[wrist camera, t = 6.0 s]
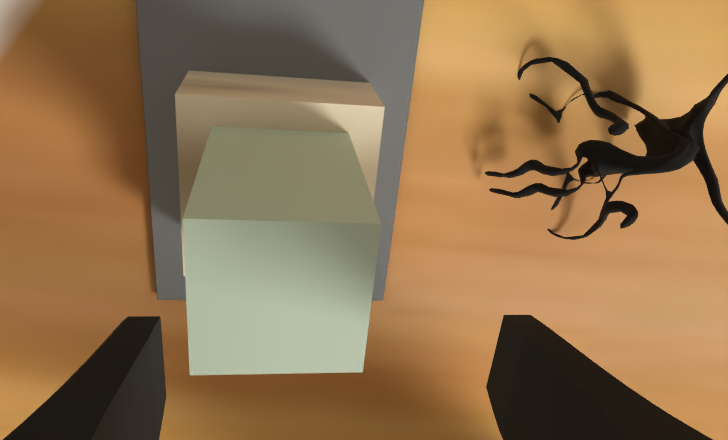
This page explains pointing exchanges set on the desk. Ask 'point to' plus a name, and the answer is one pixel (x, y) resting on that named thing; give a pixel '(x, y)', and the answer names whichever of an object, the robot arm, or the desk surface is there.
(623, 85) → the desk surface
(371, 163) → the base slab
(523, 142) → the desk surface
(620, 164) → the creature
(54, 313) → the desk surface
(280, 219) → the pillar block
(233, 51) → the mat
